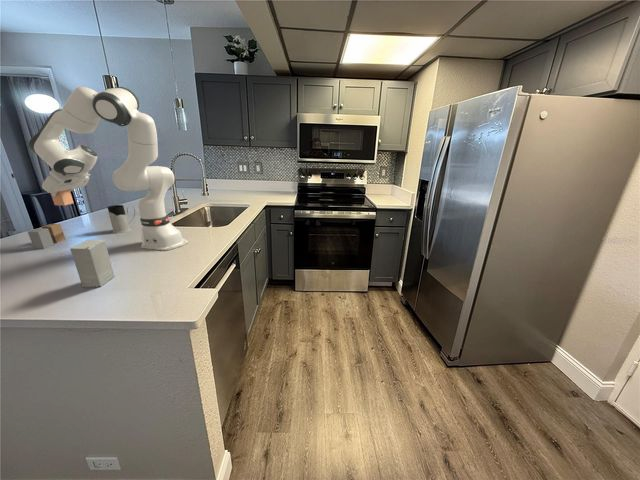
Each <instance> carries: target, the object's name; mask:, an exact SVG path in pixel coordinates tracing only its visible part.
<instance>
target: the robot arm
mask: <svg viewBox="0 0 640 480" xmlns="http://www.w3.org/2000/svg"><path fill="white" fill-rule="evenodd" d="M139 108H140V101H139V98H138V96H137V95H136V94H135V93H134V92H133V91H132V90H131V89H129V88H127V87H123V86H115V87H111V88H107V89H105V90H103V91H101V92H97V91H96V90H95V89H92V88H90V87H86V86H78V87H75V89H73V90H72V92H71V93H70V95H69V96H68V97H67V99H66V101H65V103H64V105H63V107H62V109H61V108H59V109H56V110H54V111H53V112H51V114H50V115H49V116H48V117H47V119H46V120H45V122H44V123H43V125H42V126H41V127H40V129H39V130H38V132H37V133H35V135H33V136H32V137H30V139H29V142H28V148H29V149H30V150H31V152H33V153H34V154H35V155H37V156H39V158H41V160H42V161H44V162H45V163H46V164H47V165H48V166H49V167H50V168H51V169H52V170H50V171H49V173H48V174H49V175H48V176H47V177H46V178H45V179H44V181H43V182H42V184H41V187H42V189H43V190H44V191H46V192H47V193H48V194H50V195H52V196H57V195H58V193H57V192H58V191H63V190H70V193H71V192H73V191H74V190H75V189H80V188H84V187H86V186H87V184H88V182H89V181H90V176H91V173H90V171H91V170H92V169H93V167H94V166H95V165H96V163H97V161H98V155H97V153H96V152H95V151H94V150H93V149H92V148H90V147H89V146H87V145H84V144H79V145H78V146H77V147H76V148H74V149H71V150H68V149H67V148H66V147H65V146H64V145H63V144H62V143H61V141H60V139H59V137H61V135H62V134H63V132H64V131H65V130H67V131H70V132H73V133H76V134H80V135H89V134H91V133H92V134H93V132H95V130H96V129H98V128H97V127H98V125H99V124H100V122H101V120H104V121H106V122H109V123H112V124H114V125H117V126H119V127H125V128H126V132H127V133H126V134H127V142H128V143H127V144H128V145H127V146H128V153H127V154H128V155H127V158H126V159H125V161H124V162H123V164H122V165H121V166H120V167H118V168H117V169H115V170H114V171H113V173H112V176H111V177H112V182H113V184H114V185H115V187H116V188H118V189H119V190H120V191H126V192H127V191H128V192H138V191H139V192H140V191H146V190H148V191H147V194H146V195H145V196H143V197H142V198H141V199H140V200H139V201H138V202H137V205H138V206H137V207H138V211H139V215H140V223H141V226H142V228H141V229H140V230H141V231H140V235H141V241H142V242H141V243H142V244H141V245H140V248H141V249H149V250H156V251H157V250H158V251H169V250H173V249H177V248H180V247H182V246H185V245H186V244H188V243H189V240H188V239H186V238H183V236H182V232H181V230H180V229H177V228H176V227H175V226H174V225H173V224H172V223H171V218H170V217H169V216H168V215H167V213H166V209H165V207H166V206H165V197H166V194H167V192H168V190H169V189H170V188H171V187H172V186H173V185H174V183H175V174H174V172H173V171H172V170H171V169H170V168H169V167H168V166H160V165H153V166H151V164H152V163H154V162H156V160H157V159H158V157H159V149H158V148H159V146H158V145H159V144H158V141H159V140H158V135H157V134H158V133H157V132H158V131H157V128H156V124H155V121H154V119H153V118H152V117H151V116H150V115H148V114H146V113H144V112H140V111H139ZM51 192H52V193H51ZM52 196H51V197H52Z"/></svg>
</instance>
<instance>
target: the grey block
mask: <svg viewBox="0 0 640 480" xmlns="http://www.w3.org/2000/svg"><path fill="white" fill-rule="evenodd" d="M27 235H28V237H29V239H30V241H31V244H32V247H33V249H34V250H45V249H48V248H51V247H54V246H55V243H53V240H52V238H51V235H50V232H49V230H48V229H43V228H42V227H40V228H39V227H38V228H34V229H31V230H29V231H27Z"/></svg>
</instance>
